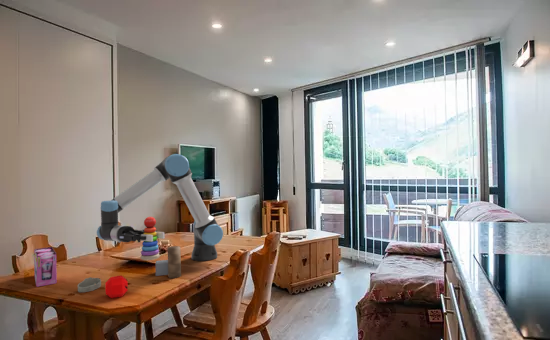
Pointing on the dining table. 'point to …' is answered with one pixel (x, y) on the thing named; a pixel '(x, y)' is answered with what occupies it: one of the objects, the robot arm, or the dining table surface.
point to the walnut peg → (174, 262)
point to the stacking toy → (149, 247)
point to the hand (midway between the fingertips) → (158, 236)
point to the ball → (116, 286)
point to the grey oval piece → (89, 284)
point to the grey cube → (161, 267)
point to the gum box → (45, 266)
